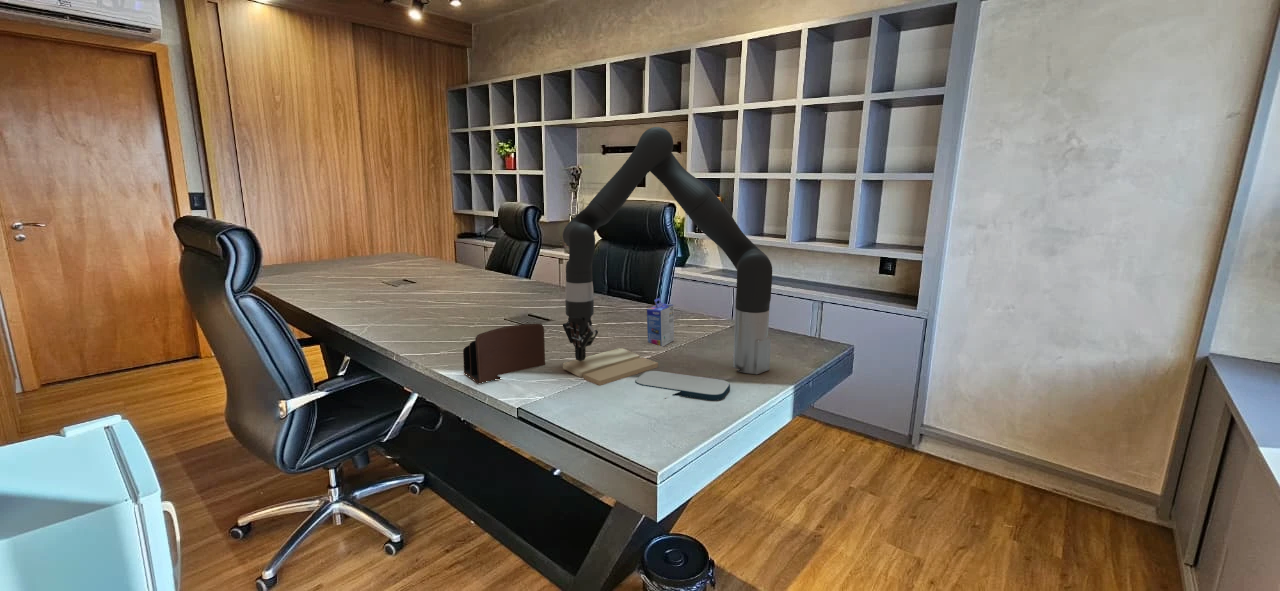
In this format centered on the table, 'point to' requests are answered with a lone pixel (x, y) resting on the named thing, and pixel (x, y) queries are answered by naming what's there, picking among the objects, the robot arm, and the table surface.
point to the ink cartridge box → (660, 323)
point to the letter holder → (504, 351)
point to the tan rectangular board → (620, 371)
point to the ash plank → (599, 361)
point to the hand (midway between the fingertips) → (580, 359)
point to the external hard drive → (686, 385)
